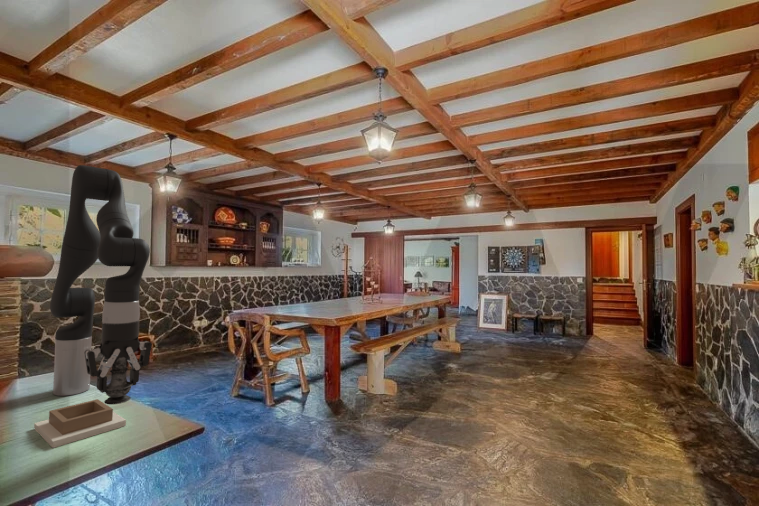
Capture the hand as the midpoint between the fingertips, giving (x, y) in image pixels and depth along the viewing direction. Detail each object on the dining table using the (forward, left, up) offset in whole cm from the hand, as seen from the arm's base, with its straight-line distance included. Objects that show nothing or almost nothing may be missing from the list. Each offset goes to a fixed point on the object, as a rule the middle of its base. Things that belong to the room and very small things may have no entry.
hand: (118, 387), depth 93 cm
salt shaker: (0, 0, -3) cm, 3 cm away
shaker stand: (-14, -3, -13) cm, 19 cm away
